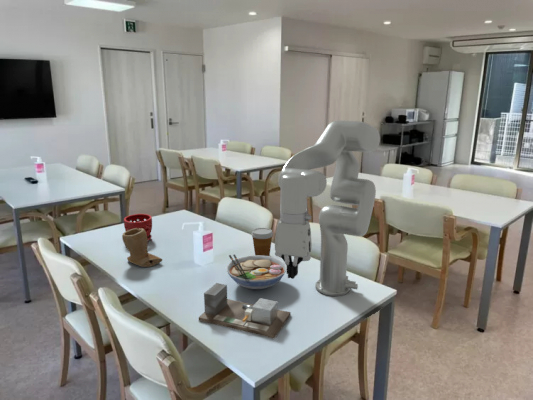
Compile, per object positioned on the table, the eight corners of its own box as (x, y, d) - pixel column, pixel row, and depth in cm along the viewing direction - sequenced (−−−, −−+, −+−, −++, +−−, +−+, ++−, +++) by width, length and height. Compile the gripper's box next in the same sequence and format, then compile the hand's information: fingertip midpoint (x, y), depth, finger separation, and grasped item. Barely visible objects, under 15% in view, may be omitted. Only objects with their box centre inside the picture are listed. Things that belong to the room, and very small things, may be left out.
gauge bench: (290, 315, 134) (290, 292, 131) (274, 338, 121) (274, 313, 119) (220, 300, 143) (219, 279, 141) (198, 320, 131) (197, 297, 129)
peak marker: (253, 318, 129) (253, 309, 129) (246, 326, 125) (246, 317, 124) (247, 316, 130) (247, 308, 129) (240, 324, 126) (240, 316, 125)
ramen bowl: (297, 295, 146) (297, 274, 144) (234, 305, 140) (233, 283, 138) (275, 268, 170) (275, 249, 168) (221, 275, 163) (220, 256, 161)
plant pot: (120, 241, 200) (117, 218, 197) (141, 234, 211) (140, 212, 208) (137, 247, 193) (135, 223, 190) (159, 239, 204) (157, 216, 201)
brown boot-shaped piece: (119, 262, 176) (116, 229, 172) (144, 254, 184) (142, 222, 181) (138, 272, 166) (134, 237, 162) (163, 264, 174) (161, 230, 170)
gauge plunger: (277, 315, 131) (277, 301, 130) (270, 325, 125) (270, 310, 124) (247, 309, 135) (247, 295, 133) (239, 318, 129) (239, 304, 128)
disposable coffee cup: (248, 259, 179) (247, 233, 176) (256, 251, 188) (256, 226, 184) (268, 262, 176) (268, 235, 172) (276, 254, 184) (276, 228, 181)
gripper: (322, 216, 118) (320, 275, 122) (273, 211, 123) (273, 268, 128) (314, 223, 111) (312, 286, 115) (264, 217, 116) (263, 277, 121)
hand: (292, 276), depth 121 cm, fingers closed
